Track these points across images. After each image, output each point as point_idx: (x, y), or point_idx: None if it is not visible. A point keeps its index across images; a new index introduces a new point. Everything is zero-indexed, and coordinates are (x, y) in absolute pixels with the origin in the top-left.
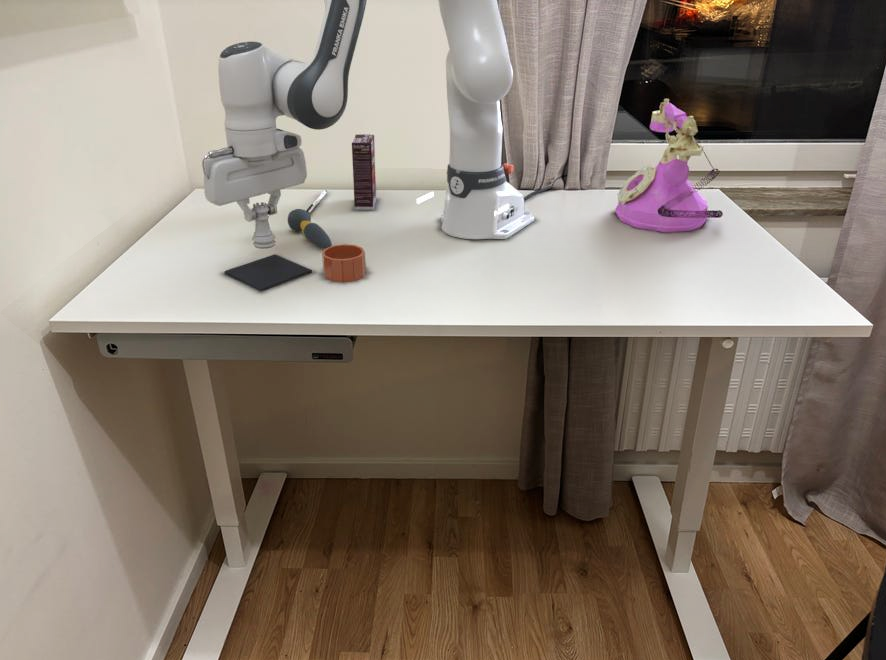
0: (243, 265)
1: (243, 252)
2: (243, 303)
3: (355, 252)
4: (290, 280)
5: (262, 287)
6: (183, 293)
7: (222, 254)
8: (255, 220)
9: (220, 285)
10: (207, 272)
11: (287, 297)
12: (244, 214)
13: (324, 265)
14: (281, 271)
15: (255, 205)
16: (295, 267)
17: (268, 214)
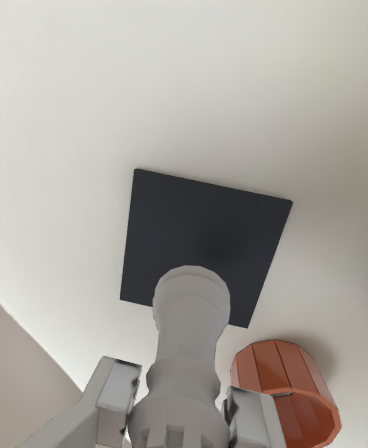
0: (187, 186)
1: (280, 91)
2: (70, 298)
3: (325, 412)
4: None
5: (125, 299)
6: (13, 169)
7: (236, 41)
8: (156, 361)
9: (90, 208)
10: (117, 119)
11: (134, 343)
12: (90, 381)
13: (240, 380)
14: None
15: (165, 439)
16: (241, 295)
17: (227, 396)
